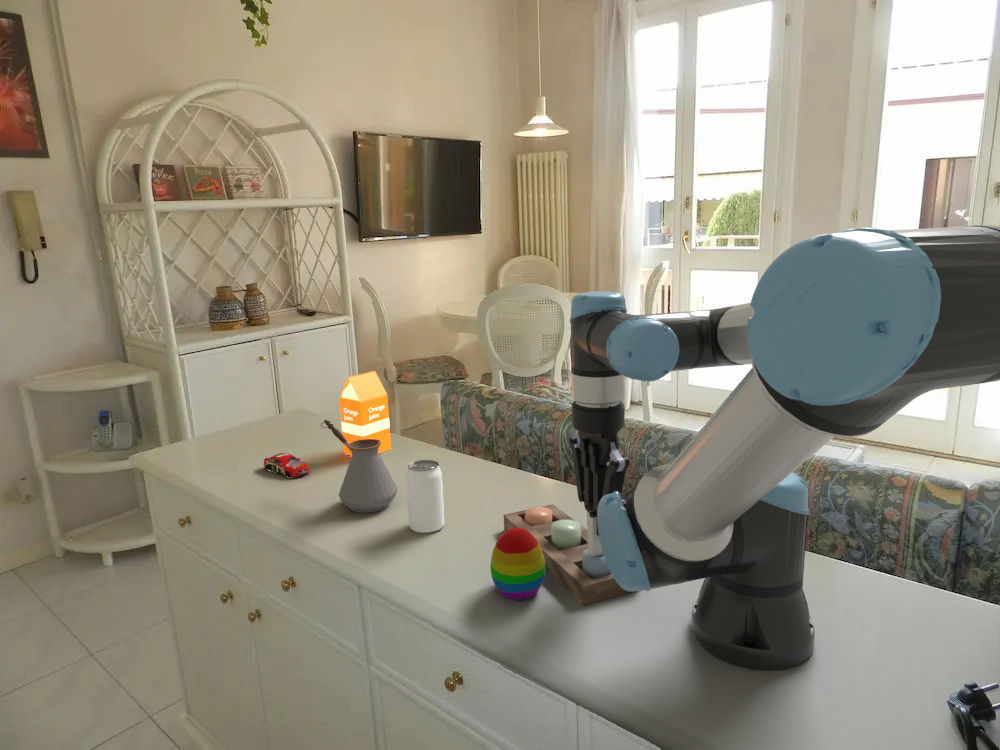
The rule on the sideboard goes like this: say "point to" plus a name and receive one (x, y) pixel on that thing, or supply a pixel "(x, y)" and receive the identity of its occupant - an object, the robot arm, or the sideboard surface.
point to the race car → (286, 465)
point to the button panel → (567, 560)
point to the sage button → (565, 534)
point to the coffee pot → (365, 476)
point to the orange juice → (365, 411)
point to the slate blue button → (594, 565)
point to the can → (425, 496)
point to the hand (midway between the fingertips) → (597, 552)
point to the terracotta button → (538, 516)
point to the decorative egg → (517, 564)
